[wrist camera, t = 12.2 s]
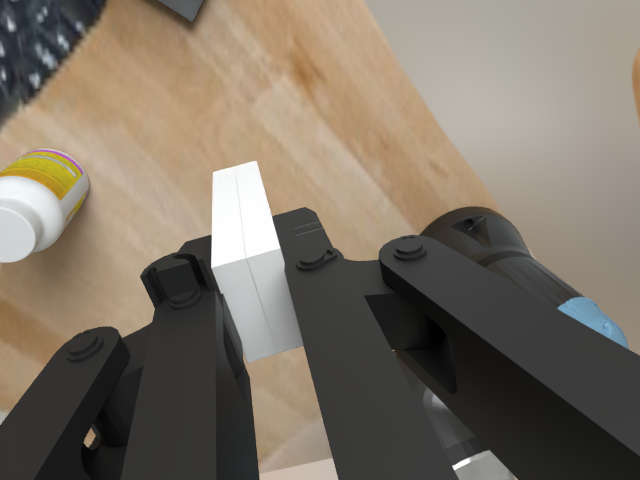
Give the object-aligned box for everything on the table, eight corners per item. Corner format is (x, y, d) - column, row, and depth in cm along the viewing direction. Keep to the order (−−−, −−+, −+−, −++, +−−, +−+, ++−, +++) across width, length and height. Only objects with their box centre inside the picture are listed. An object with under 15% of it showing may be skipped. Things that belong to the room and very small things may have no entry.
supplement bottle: (8, 146, 43) (-66, 193, 32) (84, 146, 44) (39, 191, 33) (24, 212, 46) (-38, 276, 35) (95, 210, 47) (57, 272, 36)
